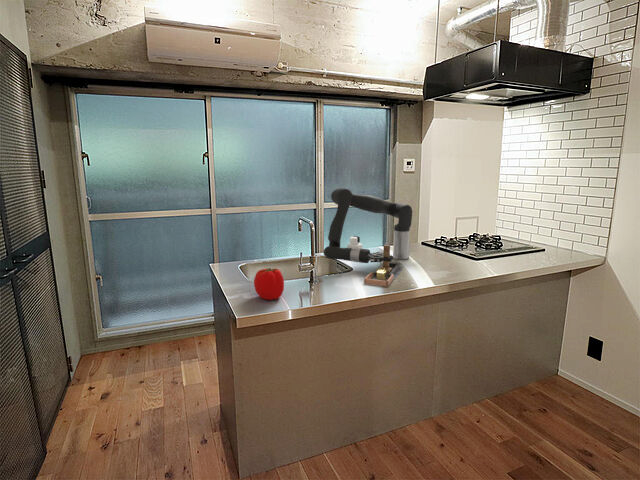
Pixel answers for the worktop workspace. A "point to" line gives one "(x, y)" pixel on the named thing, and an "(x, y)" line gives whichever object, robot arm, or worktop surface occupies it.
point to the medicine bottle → (354, 242)
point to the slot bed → (395, 270)
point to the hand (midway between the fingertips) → (391, 258)
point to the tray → (377, 282)
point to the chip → (381, 274)
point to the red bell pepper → (269, 283)
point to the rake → (386, 254)
